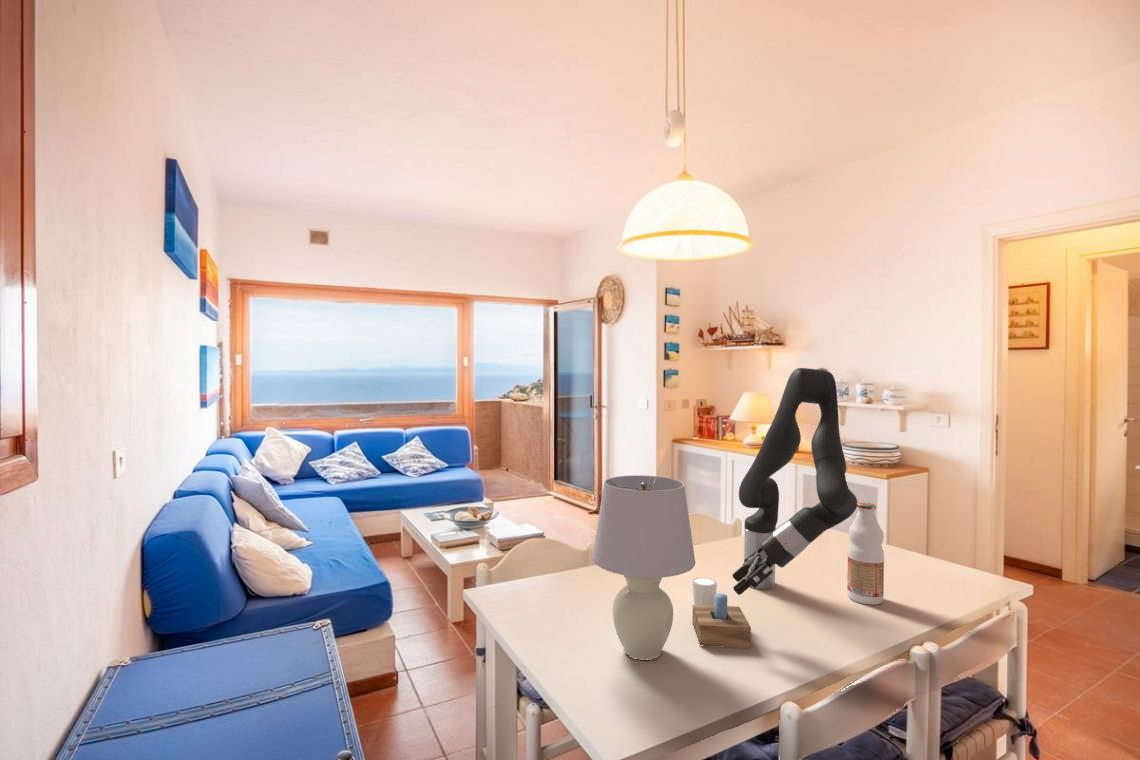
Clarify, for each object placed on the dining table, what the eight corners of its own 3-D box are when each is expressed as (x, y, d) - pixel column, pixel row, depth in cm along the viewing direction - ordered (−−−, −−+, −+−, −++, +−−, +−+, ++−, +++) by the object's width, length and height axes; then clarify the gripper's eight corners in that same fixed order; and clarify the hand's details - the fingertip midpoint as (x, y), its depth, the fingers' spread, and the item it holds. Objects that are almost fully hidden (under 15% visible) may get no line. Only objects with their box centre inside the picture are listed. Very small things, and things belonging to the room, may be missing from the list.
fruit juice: (858, 605, 159) (859, 507, 158) (840, 592, 168) (842, 500, 168) (890, 605, 159) (891, 507, 159) (871, 592, 168) (872, 500, 168)
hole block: (692, 623, 146) (692, 604, 146) (739, 625, 146) (739, 606, 146) (699, 646, 134) (700, 625, 134) (750, 648, 134) (750, 627, 134)
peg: (713, 632, 142) (713, 593, 141) (725, 633, 141) (726, 593, 141) (715, 638, 139) (716, 598, 138) (727, 638, 138) (728, 598, 138)
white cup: (702, 612, 153) (703, 587, 153) (686, 603, 159) (686, 579, 159) (721, 608, 157) (722, 583, 156) (705, 599, 163) (705, 575, 163)
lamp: (622, 689, 116) (624, 497, 115) (575, 638, 138) (576, 477, 137) (716, 666, 125) (717, 488, 125) (658, 622, 147) (659, 471, 147)
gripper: (770, 523, 144) (723, 563, 147) (776, 540, 130) (724, 584, 133) (792, 546, 142) (744, 586, 145) (800, 565, 129) (747, 608, 132)
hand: (735, 585), depth 139 cm, fingers open, 8 cm apart
